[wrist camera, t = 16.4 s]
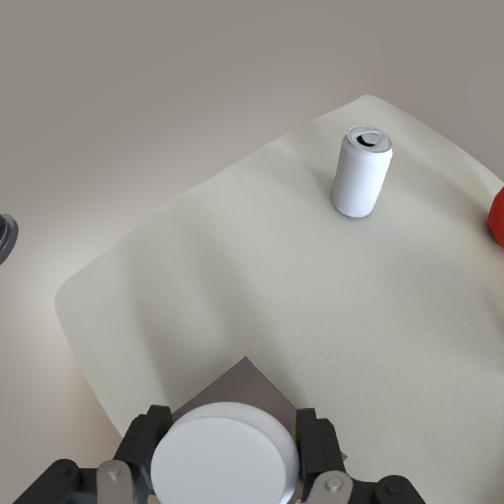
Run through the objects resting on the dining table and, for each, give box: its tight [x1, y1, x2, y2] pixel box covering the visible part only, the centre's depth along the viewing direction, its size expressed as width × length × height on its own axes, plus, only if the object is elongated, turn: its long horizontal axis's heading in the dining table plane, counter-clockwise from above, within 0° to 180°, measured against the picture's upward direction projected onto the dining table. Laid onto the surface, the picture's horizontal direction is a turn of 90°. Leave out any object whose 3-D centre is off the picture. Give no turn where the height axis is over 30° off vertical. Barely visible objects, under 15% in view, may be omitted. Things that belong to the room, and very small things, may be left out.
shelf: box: [172, 357, 347, 504], centre depth 23 cm, size 12×10×8 cm
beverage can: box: [332, 125, 392, 217], centre depth 38 cm, size 6×6×12 cm
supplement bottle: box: [151, 402, 300, 504], centre depth 11 cm, size 5×5×10 cm
